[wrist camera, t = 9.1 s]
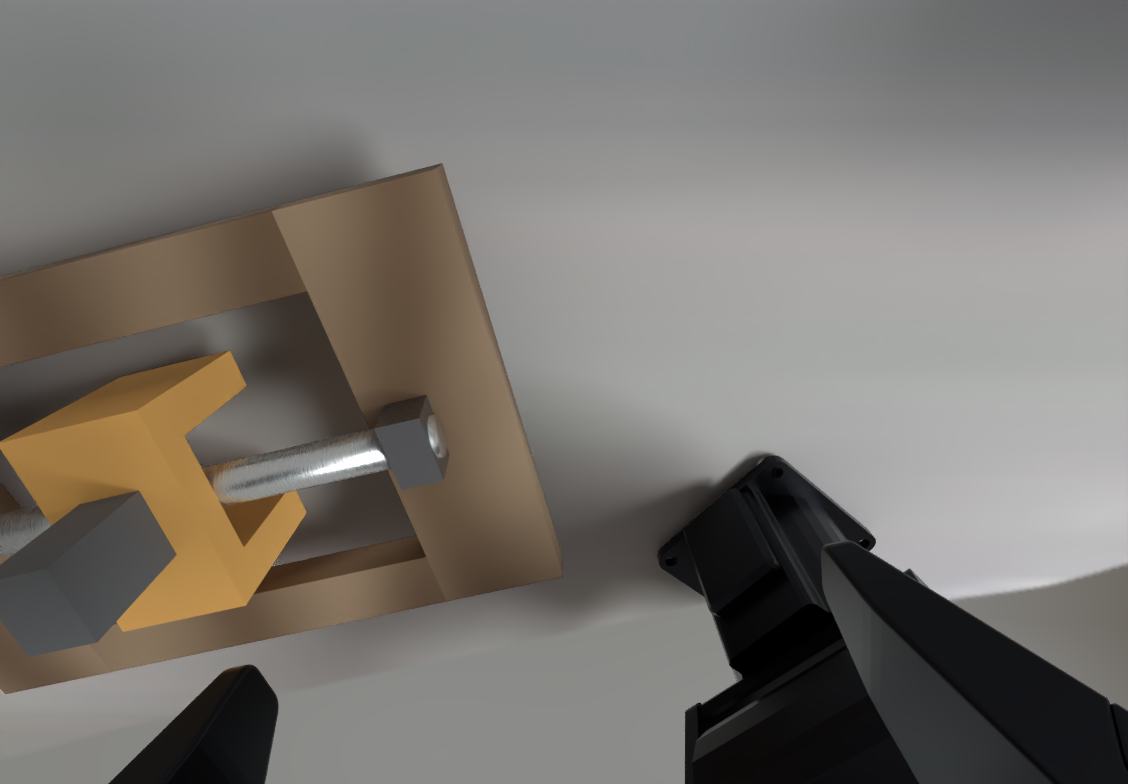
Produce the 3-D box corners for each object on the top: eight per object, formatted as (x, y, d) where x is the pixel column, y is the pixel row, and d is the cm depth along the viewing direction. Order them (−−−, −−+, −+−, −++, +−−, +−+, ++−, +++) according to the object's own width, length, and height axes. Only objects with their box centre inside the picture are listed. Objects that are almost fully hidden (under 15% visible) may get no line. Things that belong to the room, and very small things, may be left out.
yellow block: (230, 350, 18) (36, 474, 11) (306, 512, 20) (184, 699, 14) (120, 377, 18) (-136, 514, 12) (207, 534, 21) (37, 729, 14)
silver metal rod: (430, 392, 16) (422, 417, 15) (453, 451, 17) (447, 479, 16) (-96, 514, 17) (-145, 547, 16) (-49, 565, 18) (-91, 600, 17)
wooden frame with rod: (454, 152, 17) (435, 169, 14) (558, 503, 23) (563, 576, 20) (-170, 312, 18) (-332, 365, 15) (80, 607, 24) (5, 694, 21)
